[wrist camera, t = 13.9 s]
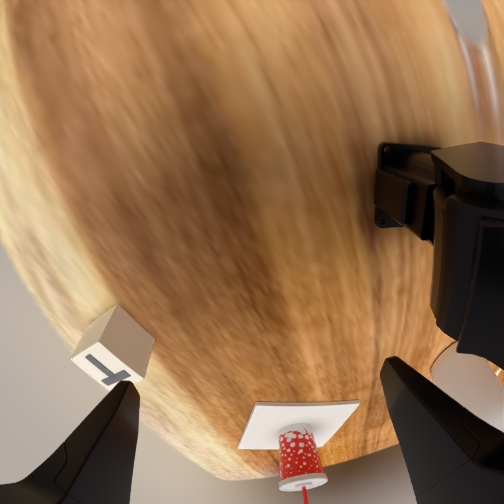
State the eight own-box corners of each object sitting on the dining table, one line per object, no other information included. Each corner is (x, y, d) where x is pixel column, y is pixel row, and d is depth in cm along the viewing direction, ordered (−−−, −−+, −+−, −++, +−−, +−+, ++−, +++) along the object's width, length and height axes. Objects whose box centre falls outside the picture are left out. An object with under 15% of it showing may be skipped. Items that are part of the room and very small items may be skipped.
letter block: (117, 303, 23) (97, 342, 18) (155, 338, 25) (143, 380, 20) (89, 323, 24) (69, 360, 19) (124, 355, 26) (111, 393, 21)
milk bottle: (419, 377, 31) (472, 491, 13) (451, 336, 28) (524, 455, 10) (449, 374, 32) (499, 471, 14) (478, 337, 29) (542, 436, 11)
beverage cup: (275, 422, 32) (286, 518, 19) (320, 418, 32) (340, 509, 19) (270, 440, 34) (279, 523, 22) (311, 436, 35) (326, 516, 22)
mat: (255, 401, 30) (255, 405, 29) (358, 399, 32) (360, 403, 31) (237, 445, 36) (237, 448, 35) (321, 443, 38) (321, 446, 37)
